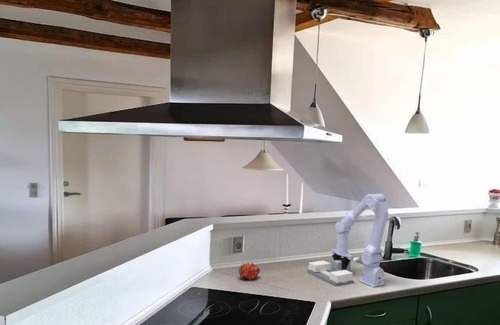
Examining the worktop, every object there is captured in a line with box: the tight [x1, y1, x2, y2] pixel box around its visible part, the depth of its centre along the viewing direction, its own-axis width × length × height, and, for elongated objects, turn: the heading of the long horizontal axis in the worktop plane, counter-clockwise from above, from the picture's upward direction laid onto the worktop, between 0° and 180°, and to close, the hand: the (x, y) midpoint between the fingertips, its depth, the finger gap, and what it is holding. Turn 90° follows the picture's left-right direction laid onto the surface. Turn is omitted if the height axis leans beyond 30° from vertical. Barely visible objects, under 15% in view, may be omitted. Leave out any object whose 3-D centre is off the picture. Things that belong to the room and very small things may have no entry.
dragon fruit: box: [238, 262, 261, 281], centre depth 182 cm, size 8×8×12 cm
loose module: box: [331, 259, 352, 272], centre depth 197 cm, size 4×9×6 cm, turn 118°
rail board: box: [306, 260, 355, 287], centre depth 188 cm, size 22×12×5 cm, turn 28°
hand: (340, 269), depth 197 cm, fingers closed on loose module, 4 cm apart
